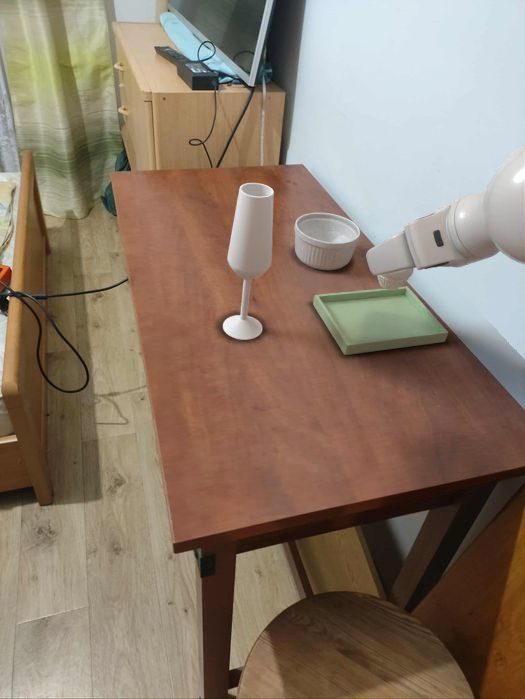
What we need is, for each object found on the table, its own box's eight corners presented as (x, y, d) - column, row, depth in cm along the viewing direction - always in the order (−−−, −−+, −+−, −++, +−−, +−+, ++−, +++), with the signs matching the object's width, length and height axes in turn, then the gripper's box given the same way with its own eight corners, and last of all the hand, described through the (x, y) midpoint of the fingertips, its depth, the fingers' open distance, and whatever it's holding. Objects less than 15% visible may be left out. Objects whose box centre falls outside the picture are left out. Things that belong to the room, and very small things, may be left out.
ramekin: (277, 250, 106) (281, 219, 102) (322, 236, 113) (328, 206, 109) (321, 281, 99) (327, 249, 94) (366, 263, 106) (374, 233, 101)
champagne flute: (264, 317, 88) (282, 183, 72) (260, 342, 83) (279, 203, 67) (225, 312, 88) (235, 177, 72) (219, 336, 83) (229, 196, 67)
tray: (404, 295, 98) (407, 286, 97) (444, 341, 88) (448, 332, 87) (312, 304, 93) (314, 294, 91) (344, 355, 83) (347, 345, 81)
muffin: (372, 272, 88) (382, 235, 83) (407, 279, 87) (419, 243, 83) (369, 290, 83) (379, 253, 79) (406, 299, 82) (419, 261, 78)
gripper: (501, 200, 75) (431, 231, 87) (402, 223, 66) (339, 254, 78) (513, 241, 75) (442, 266, 88) (416, 270, 66) (352, 293, 78)
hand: (393, 260), depth 83 cm, fingers closed on muffin, 6 cm apart
